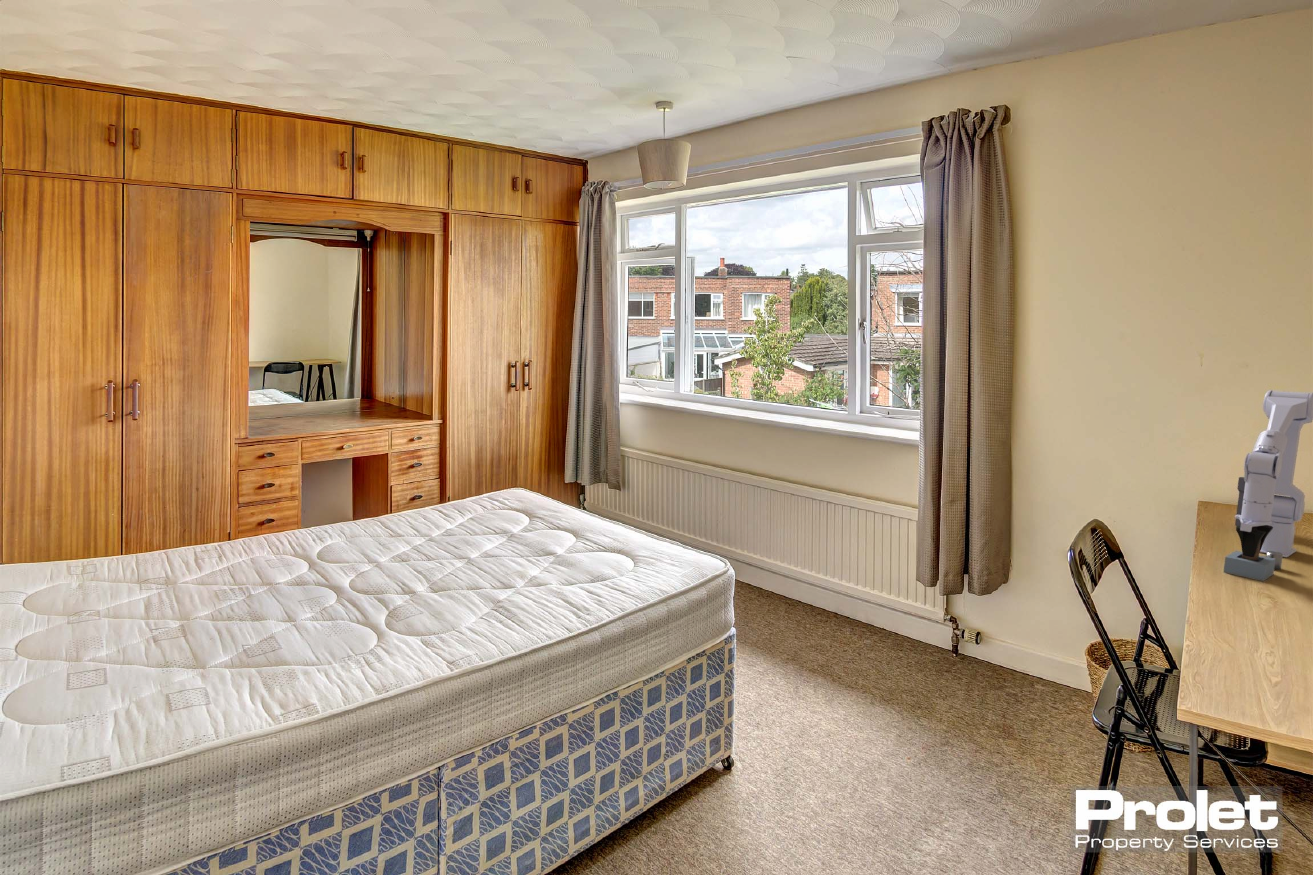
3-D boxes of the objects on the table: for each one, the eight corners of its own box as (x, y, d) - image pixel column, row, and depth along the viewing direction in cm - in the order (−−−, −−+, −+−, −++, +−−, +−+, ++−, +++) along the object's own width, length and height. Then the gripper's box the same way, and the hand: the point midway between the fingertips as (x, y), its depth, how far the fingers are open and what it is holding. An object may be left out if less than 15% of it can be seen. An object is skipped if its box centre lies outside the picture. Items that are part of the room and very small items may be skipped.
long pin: (1243, 560, 187) (1247, 533, 186) (1259, 563, 185) (1263, 536, 184) (1239, 562, 186) (1242, 535, 184) (1255, 566, 183) (1258, 538, 182)
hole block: (1234, 565, 191) (1236, 550, 190) (1273, 574, 185) (1275, 558, 184) (1223, 572, 186) (1225, 556, 186) (1263, 581, 180) (1265, 565, 179)
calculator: (1269, 536, 216) (1276, 485, 214) (1252, 535, 217) (1259, 484, 215) (1248, 525, 227) (1254, 477, 225) (1232, 524, 228) (1238, 476, 225)
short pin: (1266, 565, 192) (1268, 550, 191) (1282, 568, 189) (1284, 553, 188) (1262, 567, 190) (1264, 552, 189) (1278, 571, 187) (1280, 555, 186)
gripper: (1247, 493, 190) (1240, 545, 192) (1228, 502, 181) (1221, 556, 184) (1282, 498, 185) (1275, 551, 187) (1264, 508, 176) (1256, 563, 178)
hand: (1250, 554), depth 185 cm, fingers closed on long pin, 3 cm apart
